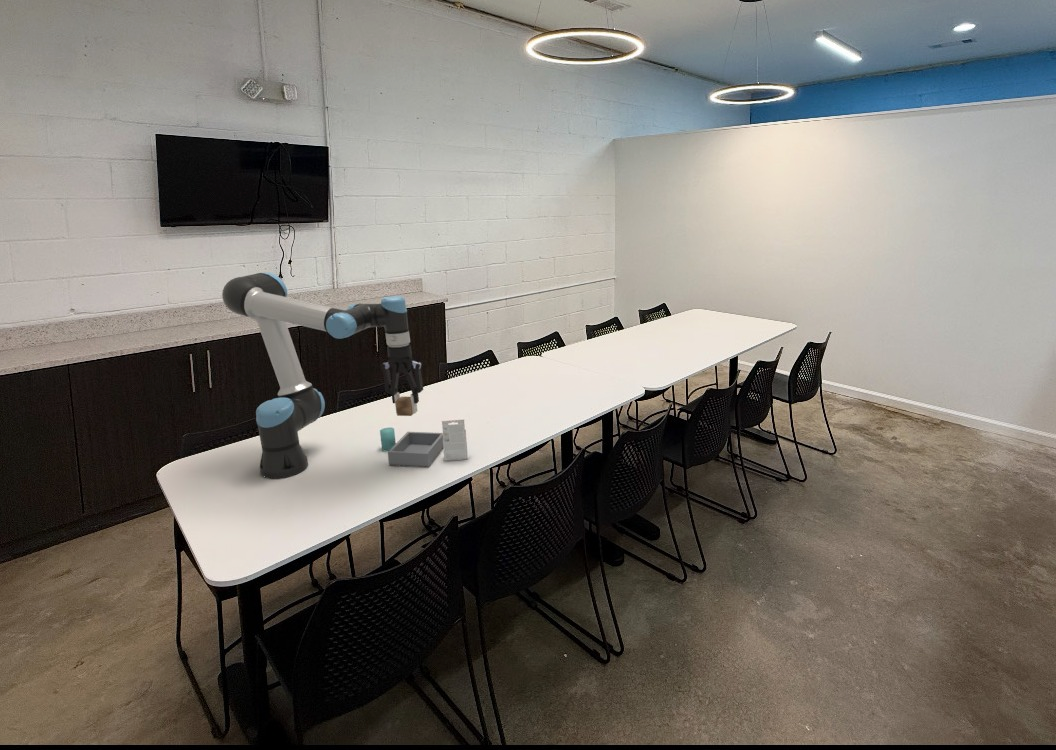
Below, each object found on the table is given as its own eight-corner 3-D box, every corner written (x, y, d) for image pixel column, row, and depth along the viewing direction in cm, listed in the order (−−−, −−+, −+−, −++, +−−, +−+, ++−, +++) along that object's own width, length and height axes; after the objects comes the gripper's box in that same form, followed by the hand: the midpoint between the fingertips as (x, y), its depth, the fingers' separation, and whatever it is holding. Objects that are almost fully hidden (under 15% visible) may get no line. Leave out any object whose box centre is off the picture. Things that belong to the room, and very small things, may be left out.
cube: (397, 415, 194) (395, 401, 193) (402, 410, 199) (401, 396, 197) (411, 415, 193) (409, 401, 192) (416, 410, 198) (415, 396, 196)
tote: (389, 465, 197) (387, 452, 196) (408, 444, 214) (407, 431, 213) (428, 467, 195) (427, 453, 194) (445, 445, 212) (444, 433, 210)
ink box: (444, 457, 203) (441, 417, 198) (467, 455, 203) (464, 415, 199) (444, 461, 199) (440, 421, 195) (467, 459, 200) (464, 419, 196)
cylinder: (379, 450, 210) (377, 432, 208) (385, 445, 214) (383, 427, 212) (392, 451, 209) (390, 433, 207) (398, 445, 214) (396, 427, 212)
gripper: (367, 347, 188) (377, 415, 194) (421, 347, 184) (428, 416, 191) (377, 342, 195) (386, 408, 201) (429, 341, 191) (436, 408, 198)
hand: (407, 412), depth 196 cm, fingers closed on cube, 5 cm apart
